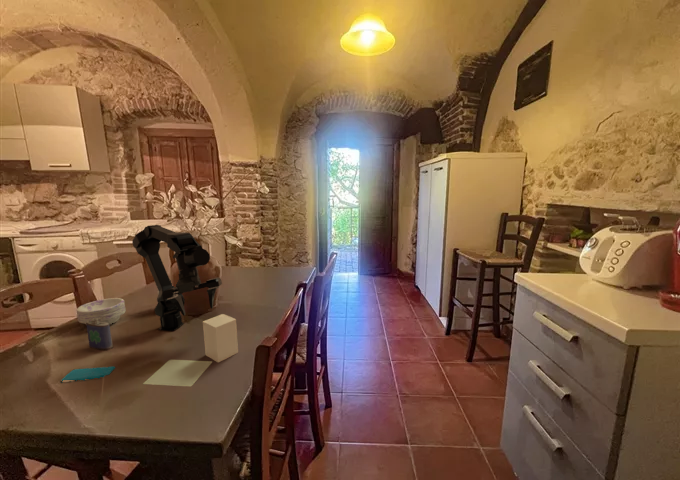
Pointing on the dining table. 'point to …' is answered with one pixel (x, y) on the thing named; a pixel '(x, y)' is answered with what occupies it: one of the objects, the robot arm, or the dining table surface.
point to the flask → (99, 334)
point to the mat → (178, 373)
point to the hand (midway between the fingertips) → (198, 311)
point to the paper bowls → (102, 310)
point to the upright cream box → (220, 337)
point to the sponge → (88, 373)
